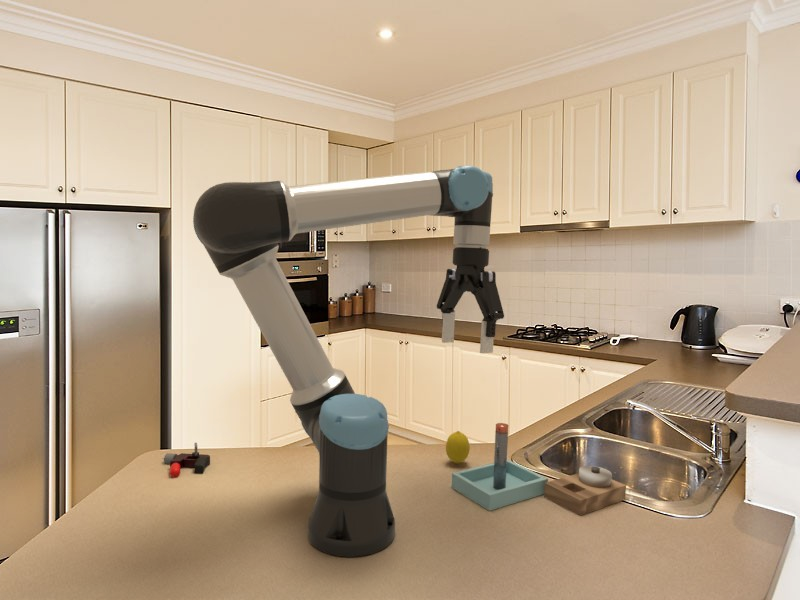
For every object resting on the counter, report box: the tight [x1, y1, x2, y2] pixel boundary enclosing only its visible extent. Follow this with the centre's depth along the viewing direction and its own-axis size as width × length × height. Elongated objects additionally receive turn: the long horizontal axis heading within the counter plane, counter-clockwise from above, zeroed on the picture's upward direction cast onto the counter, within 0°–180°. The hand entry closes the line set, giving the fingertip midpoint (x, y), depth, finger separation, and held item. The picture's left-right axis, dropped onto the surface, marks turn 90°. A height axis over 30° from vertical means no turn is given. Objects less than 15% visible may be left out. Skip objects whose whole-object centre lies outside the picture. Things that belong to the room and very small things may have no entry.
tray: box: [451, 458, 549, 511], centre depth 113 cm, size 16×12×3 cm
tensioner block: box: [543, 465, 627, 516], centre depth 110 cm, size 14×9×6 cm, turn 122°
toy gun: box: [161, 442, 211, 478], centre depth 119 cm, size 10×12×5 cm
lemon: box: [445, 430, 470, 465], centre depth 126 cm, size 6×6×8 cm
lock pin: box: [493, 422, 509, 490], centre depth 112 cm, size 3×3×14 cm
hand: (466, 347), depth 114 cm, fingers open, 13 cm apart
